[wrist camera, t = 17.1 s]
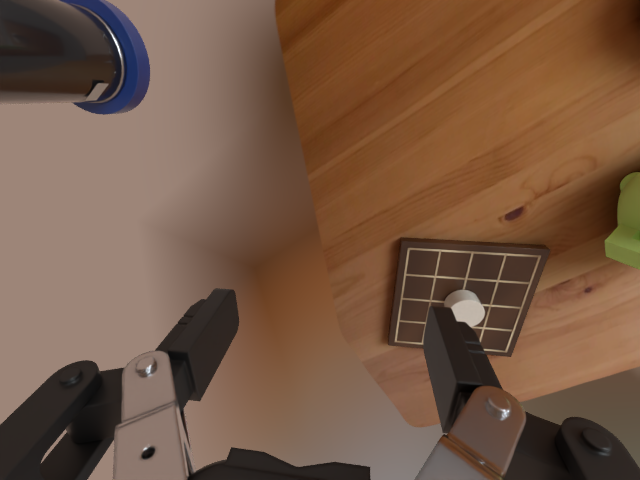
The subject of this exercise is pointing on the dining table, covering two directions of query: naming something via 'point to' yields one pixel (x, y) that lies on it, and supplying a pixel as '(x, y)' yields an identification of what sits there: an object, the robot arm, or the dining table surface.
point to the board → (465, 287)
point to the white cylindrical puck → (465, 307)
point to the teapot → (627, 224)
